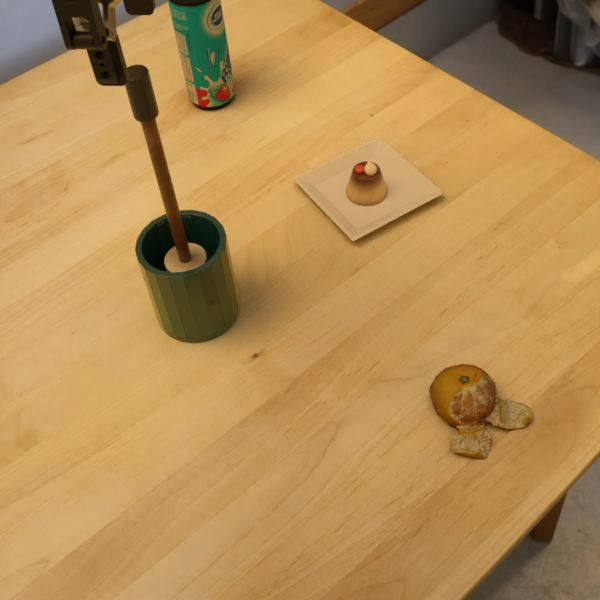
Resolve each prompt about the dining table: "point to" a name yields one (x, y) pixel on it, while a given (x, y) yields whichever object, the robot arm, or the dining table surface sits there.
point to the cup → (190, 279)
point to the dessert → (367, 187)
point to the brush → (161, 170)
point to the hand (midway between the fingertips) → (128, 46)
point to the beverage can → (203, 51)
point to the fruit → (474, 408)
